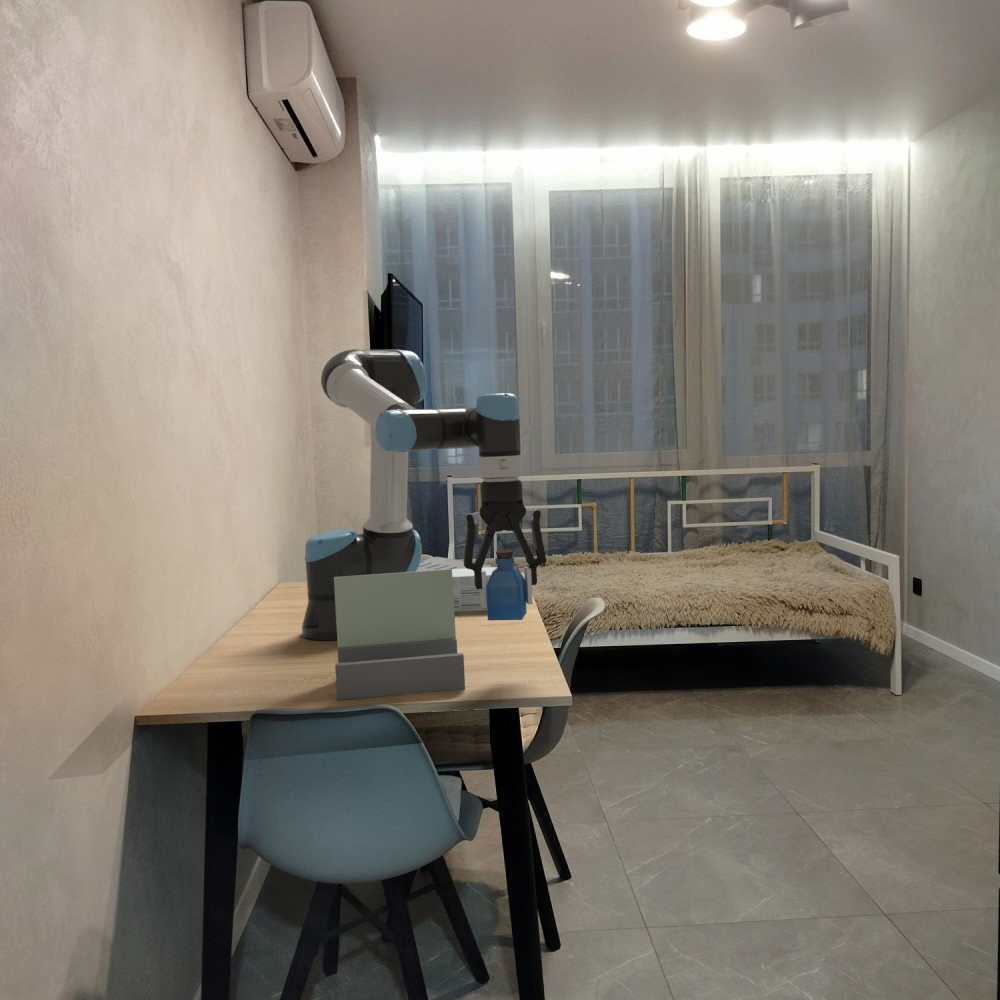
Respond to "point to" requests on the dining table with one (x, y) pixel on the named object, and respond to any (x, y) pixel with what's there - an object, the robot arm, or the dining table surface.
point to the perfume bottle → (506, 590)
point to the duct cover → (394, 607)
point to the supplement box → (467, 590)
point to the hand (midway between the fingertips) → (506, 604)
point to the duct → (399, 669)
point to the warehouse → (442, 564)
